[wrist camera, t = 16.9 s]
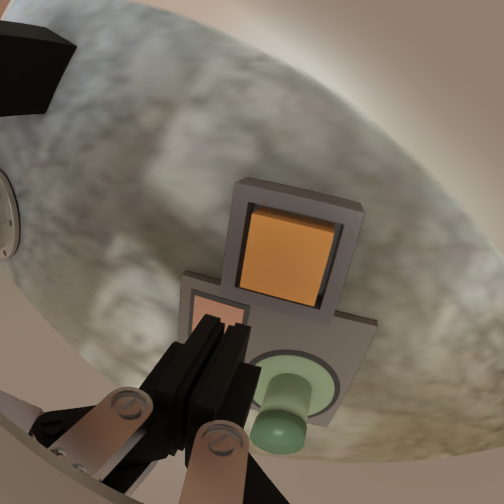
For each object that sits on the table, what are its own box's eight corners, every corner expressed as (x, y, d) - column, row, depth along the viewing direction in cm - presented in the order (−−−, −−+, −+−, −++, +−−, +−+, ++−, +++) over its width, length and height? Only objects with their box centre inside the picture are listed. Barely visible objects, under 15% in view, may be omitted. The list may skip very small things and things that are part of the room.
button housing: (232, 278, 25) (218, 295, 22) (247, 177, 22) (234, 182, 19) (331, 304, 23) (329, 325, 20) (360, 203, 20) (364, 212, 17)
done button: (249, 272, 23) (239, 286, 20) (261, 205, 21) (251, 213, 19) (316, 289, 22) (313, 306, 20) (334, 223, 20) (334, 233, 18)
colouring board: (180, 378, 30) (176, 384, 29) (185, 270, 25) (180, 275, 25) (327, 421, 28) (326, 428, 27) (376, 321, 23) (378, 328, 22)
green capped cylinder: (263, 397, 27) (246, 446, 22) (272, 367, 25) (254, 418, 20) (306, 408, 26) (296, 458, 21) (319, 378, 25) (311, 432, 19)
